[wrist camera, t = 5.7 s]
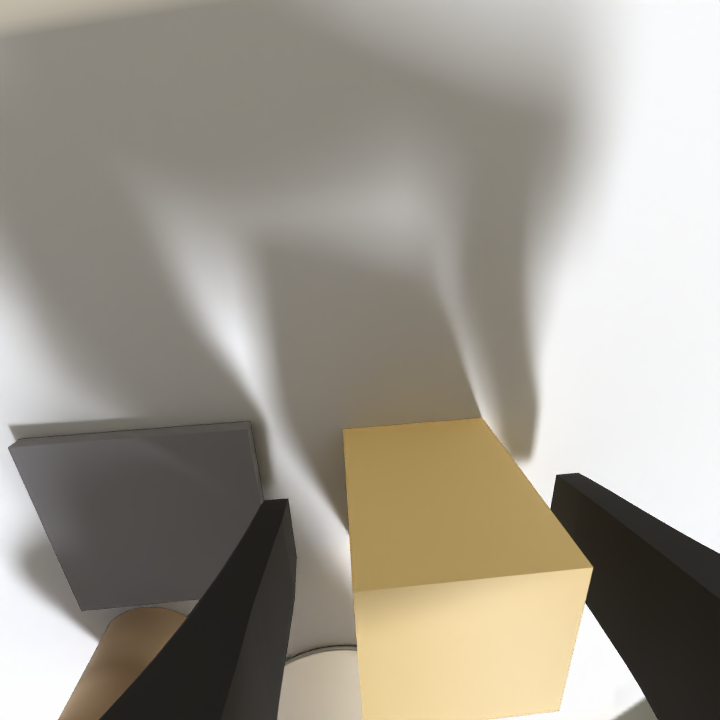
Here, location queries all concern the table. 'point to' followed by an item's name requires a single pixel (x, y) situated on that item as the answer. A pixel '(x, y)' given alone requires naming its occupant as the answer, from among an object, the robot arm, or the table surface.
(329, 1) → the table surface
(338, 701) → the can
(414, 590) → the ochre block
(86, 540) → the coaster
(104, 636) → the cork cylinder
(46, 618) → the table surface
